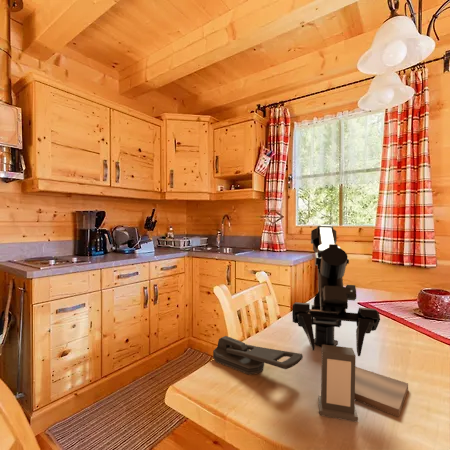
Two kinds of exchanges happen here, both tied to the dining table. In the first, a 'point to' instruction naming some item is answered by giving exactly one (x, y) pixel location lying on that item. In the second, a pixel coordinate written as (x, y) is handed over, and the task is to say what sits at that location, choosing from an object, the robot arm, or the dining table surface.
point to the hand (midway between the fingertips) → (335, 352)
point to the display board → (380, 391)
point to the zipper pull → (251, 356)
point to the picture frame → (338, 383)
